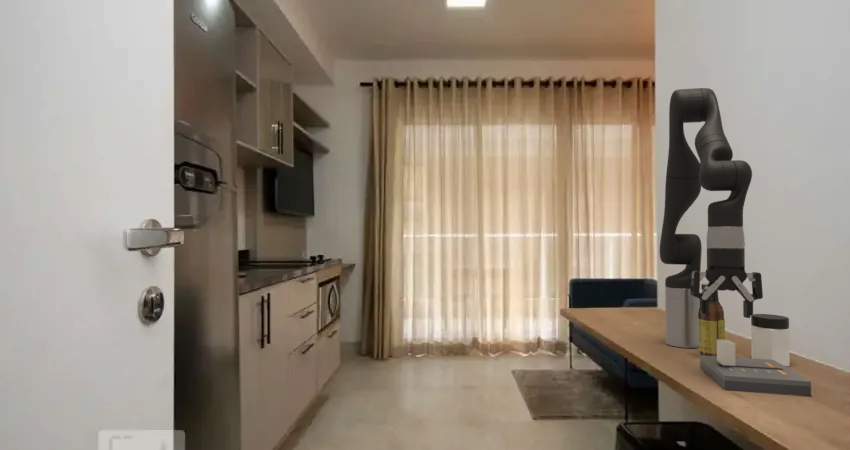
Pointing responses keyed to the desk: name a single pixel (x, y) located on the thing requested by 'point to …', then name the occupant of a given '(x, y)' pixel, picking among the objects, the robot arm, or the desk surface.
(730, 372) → the fader console
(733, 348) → the fader tab
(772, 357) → the jar
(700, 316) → the sauce bottle
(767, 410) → the desk surface
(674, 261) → the robot arm
